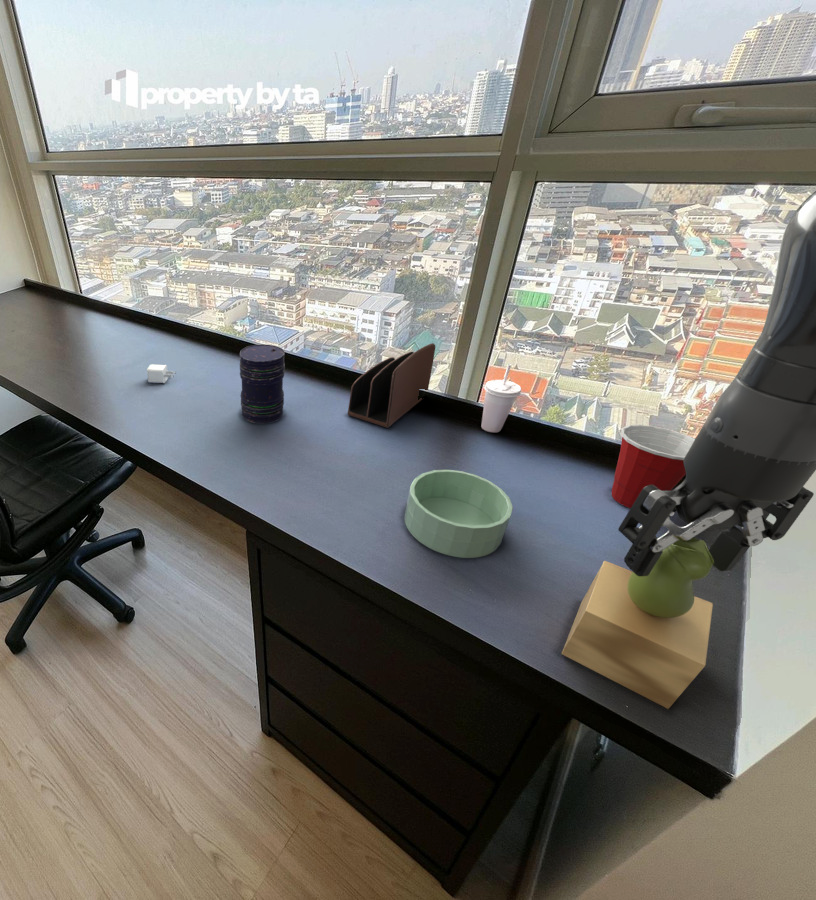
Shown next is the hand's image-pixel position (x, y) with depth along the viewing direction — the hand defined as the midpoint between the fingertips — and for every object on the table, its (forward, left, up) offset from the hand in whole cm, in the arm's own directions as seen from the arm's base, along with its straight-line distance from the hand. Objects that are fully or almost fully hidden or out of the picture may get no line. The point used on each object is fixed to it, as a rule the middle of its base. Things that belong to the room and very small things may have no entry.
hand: (675, 567), depth 50 cm
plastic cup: (+19, -29, -14) cm, 37 cm away
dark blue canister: (+72, +15, -14) cm, 75 cm away
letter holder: (+63, -13, -14) cm, 66 cm away
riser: (0, 0, -14) cm, 14 cm away
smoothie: (+46, -26, -14) cm, 55 cm away
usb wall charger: (+100, +32, -14) cm, 106 cm away
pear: (0, 0, -6) cm, 6 cm away
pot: (+25, +3, -14) cm, 29 cm away
